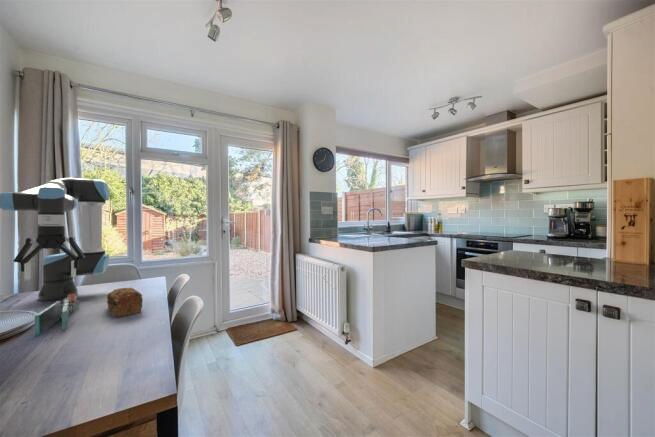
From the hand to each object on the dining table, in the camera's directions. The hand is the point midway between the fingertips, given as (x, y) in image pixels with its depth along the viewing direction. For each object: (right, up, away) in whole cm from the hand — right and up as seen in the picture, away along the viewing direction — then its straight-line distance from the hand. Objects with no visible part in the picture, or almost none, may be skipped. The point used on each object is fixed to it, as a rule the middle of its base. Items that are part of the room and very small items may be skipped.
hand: (51, 278), depth 107 cm
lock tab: (-7, -14, +16) cm, 23 cm away
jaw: (+4, -18, +2) cm, 18 cm away
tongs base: (-1, -19, +4) cm, 19 cm away
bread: (+17, -19, +16) cm, 30 cm away
